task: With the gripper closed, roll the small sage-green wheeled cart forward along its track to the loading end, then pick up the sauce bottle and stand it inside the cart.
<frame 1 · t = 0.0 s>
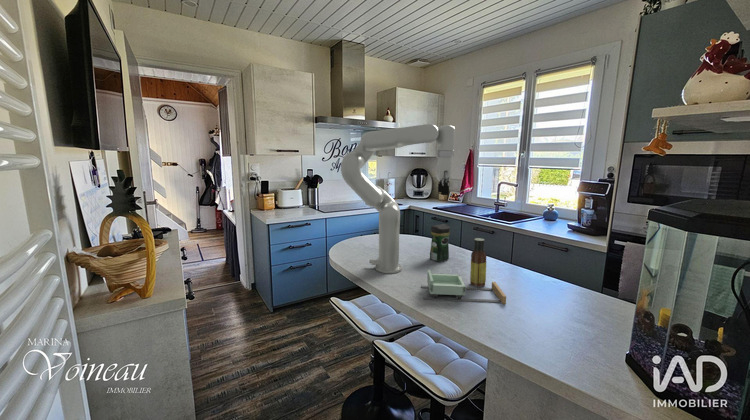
hand: (443, 193, 136), 37 cm above the breakfast bar, tool pointing down, fingers open, 9 cm apart
coffee jar: (438, 259, 158), on the breakfast bar
track: (460, 294, 118), on the breakfast bar
sauce bottle: (477, 284, 128), on the breakfast bar
cart: (445, 283, 118), point 4 cm above the breakfast bar, slide at 0.0 cm
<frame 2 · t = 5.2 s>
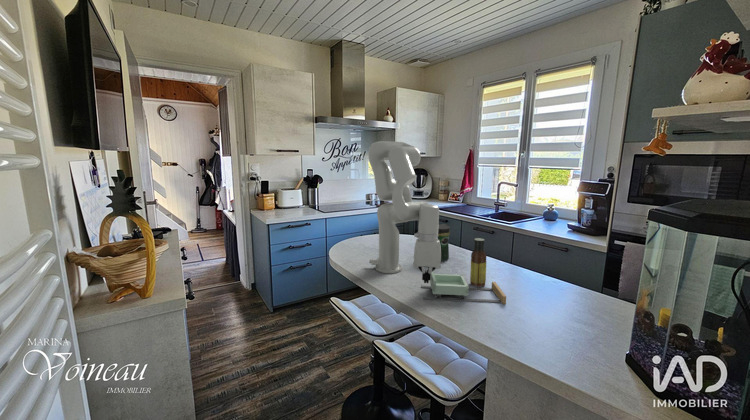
hand: (426, 281, 118), 5 cm above the breakfast bar, tool pointing down, fingers closed
cart: (448, 284, 118), point 4 cm above the breakfast bar, slide at 1.1 cm, touching gripper
everything else where it was.
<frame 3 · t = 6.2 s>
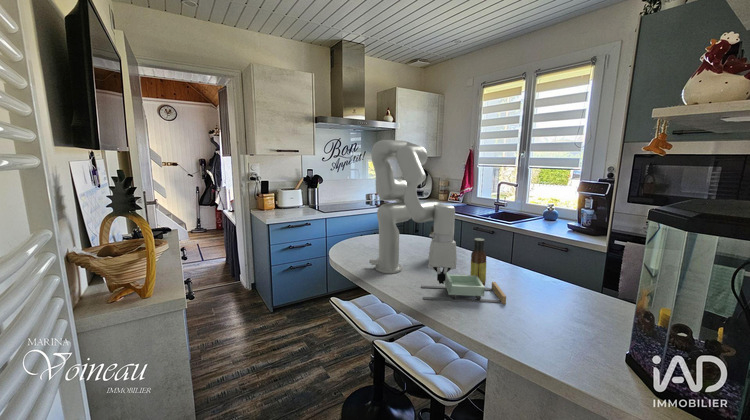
hand: (441, 282, 118), 5 cm above the breakfast bar, tool pointing down, fingers closed
cart: (463, 284, 118), point 4 cm above the breakfast bar, slide at 6.9 cm, touching gripper
everything else where it was.
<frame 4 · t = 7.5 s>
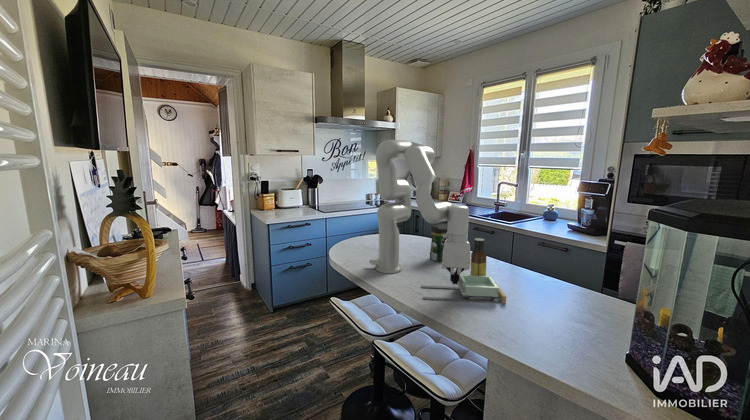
hand: (454, 282, 118), 5 cm above the breakfast bar, tool pointing down, fingers closed
cart: (476, 285, 117), point 4 cm above the breakfast bar, slide at 12.0 cm, touching gripper
everything else where it was.
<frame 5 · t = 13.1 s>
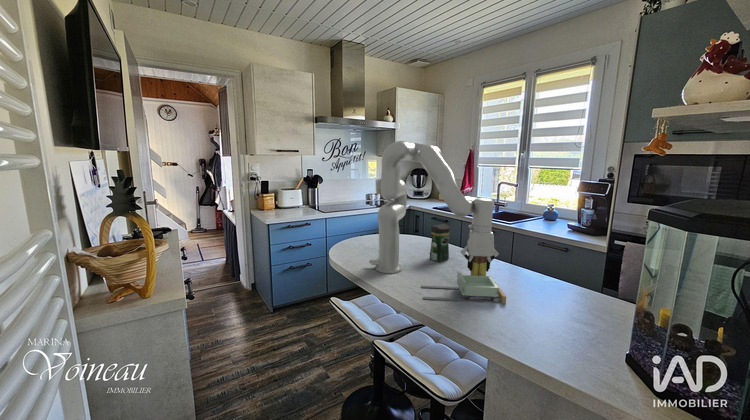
hand: (478, 269, 126), 7 cm above the breakfast bar, tool pointing down, fingers closed on sauce bottle, 6 cm apart
sauce bottle: (477, 284, 128), on the breakfast bar, touching gripper
cart: (476, 285, 117), point 4 cm above the breakfast bar, slide at 12.0 cm
everything else where it was.
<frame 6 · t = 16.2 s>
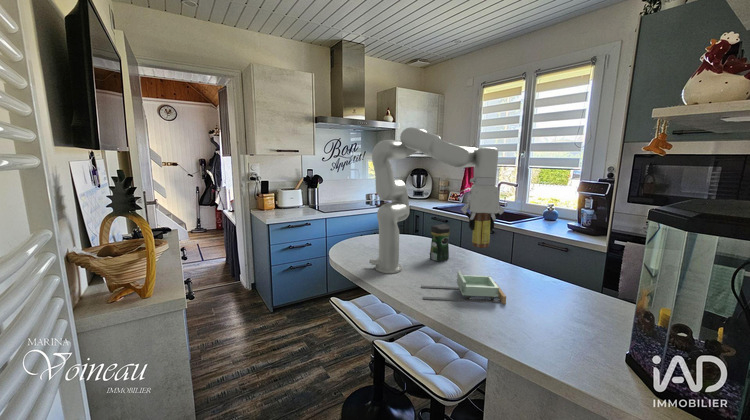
hand: (481, 229, 113), 26 cm above the breakfast bar, tool pointing down, fingers closed on sauce bottle, 6 cm apart
sauce bottle: (479, 246, 114), point 20 cm above the breakfast bar, touching gripper
everything else where it was.
when the fingers open (11 cm above the breakfast bar, at t = 19.4 s): sauce bottle stays where it is, resting on cart.
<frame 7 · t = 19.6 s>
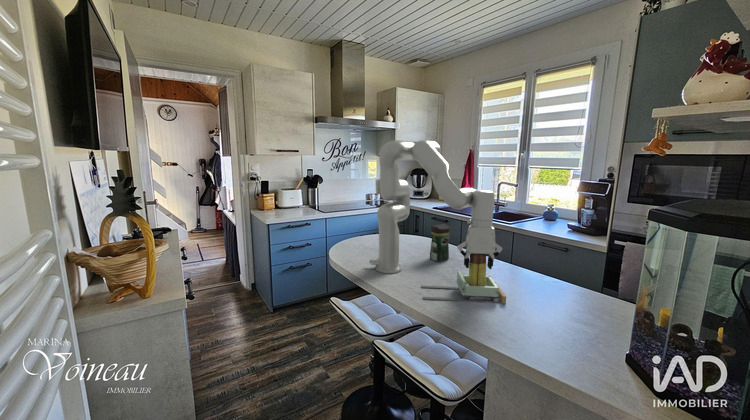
hand: (478, 267, 116), 11 cm above the breakfast bar, tool pointing down, fingers open, 8 cm apart
sauce bottle: (476, 287, 118), point 3 cm above the breakfast bar, touching cart
cart: (476, 285, 117), point 4 cm above the breakfast bar, slide at 12.0 cm, touching sauce bottle
everything else where it was.
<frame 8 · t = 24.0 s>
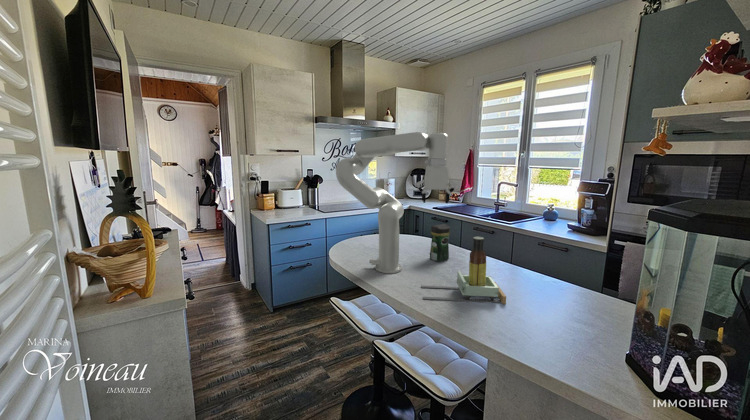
hand: (435, 202, 132), 33 cm above the breakfast bar, tool pointing down, fingers open, 9 cm apart
nothing on the breakfast bar moved.
at the end: cart slide at 12.0 cm; sauce bottle inside the target area on the cart (0.1 cm from its centre), point 3.1 cm above the cart's base; sauce bottle tilted 0° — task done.
